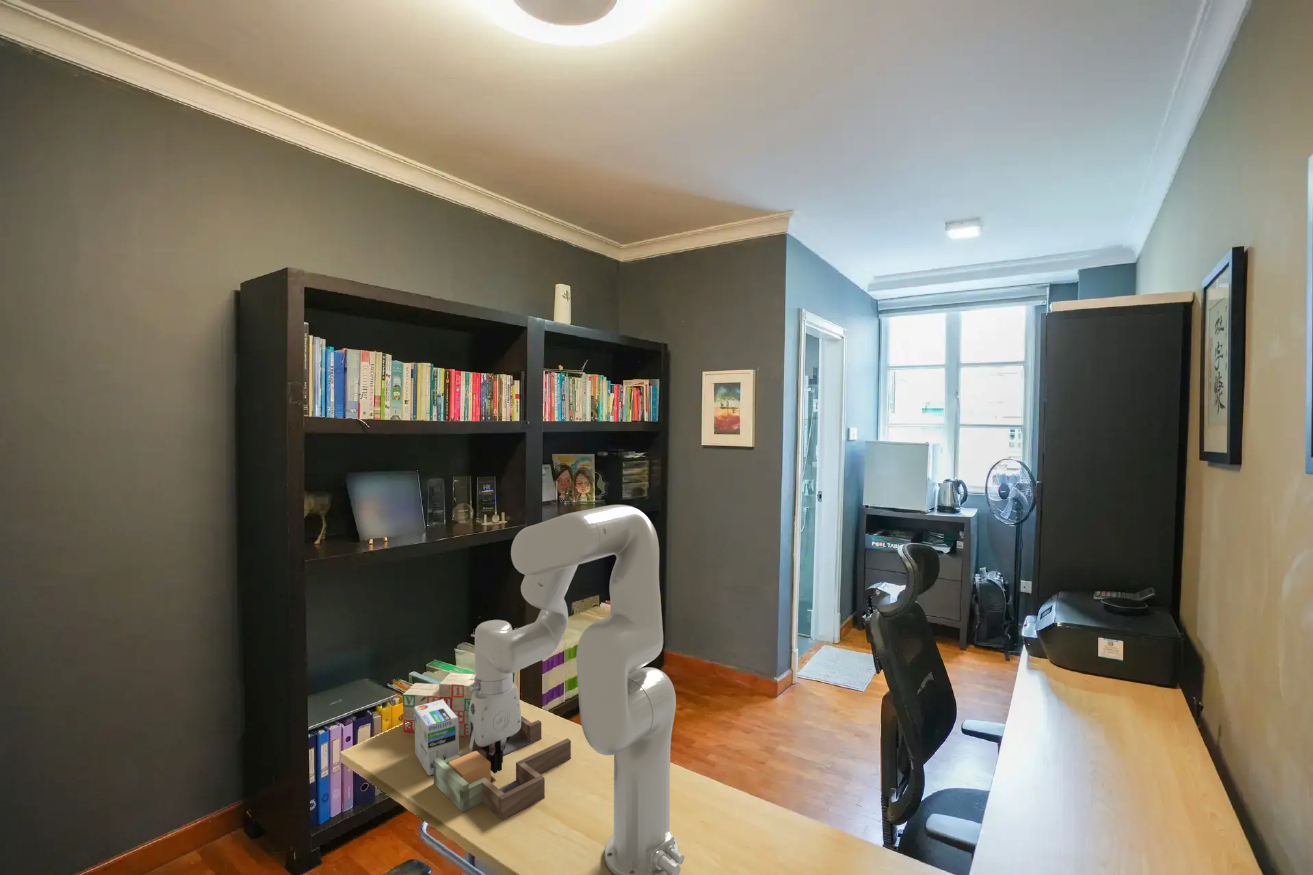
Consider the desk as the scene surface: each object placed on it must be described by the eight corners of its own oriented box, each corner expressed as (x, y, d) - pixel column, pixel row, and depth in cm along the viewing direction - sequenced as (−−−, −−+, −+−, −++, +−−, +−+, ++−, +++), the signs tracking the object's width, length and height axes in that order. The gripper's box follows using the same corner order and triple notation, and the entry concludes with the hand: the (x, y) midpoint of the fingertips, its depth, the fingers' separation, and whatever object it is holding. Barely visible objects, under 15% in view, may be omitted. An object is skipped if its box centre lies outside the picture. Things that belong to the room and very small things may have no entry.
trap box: (591, 772, 126) (591, 748, 126) (482, 830, 108) (482, 803, 108) (521, 725, 145) (521, 705, 144) (418, 768, 127) (418, 745, 127)
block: (490, 786, 121) (490, 762, 121) (462, 799, 117) (462, 774, 116) (476, 773, 125) (476, 750, 125) (448, 786, 121) (448, 761, 121)
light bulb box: (460, 766, 128) (459, 716, 128) (427, 777, 124) (427, 726, 123) (444, 744, 136) (443, 697, 136) (413, 753, 132) (412, 706, 132)
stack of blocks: (402, 732, 141) (401, 681, 141) (415, 719, 148) (415, 670, 147) (489, 738, 139) (489, 686, 139) (499, 724, 145) (499, 674, 145)
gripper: (469, 700, 116) (470, 793, 117) (534, 676, 127) (535, 761, 127) (451, 688, 121) (452, 776, 122) (515, 666, 132) (516, 747, 133)
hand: (494, 768), depth 125 cm, fingers closed
